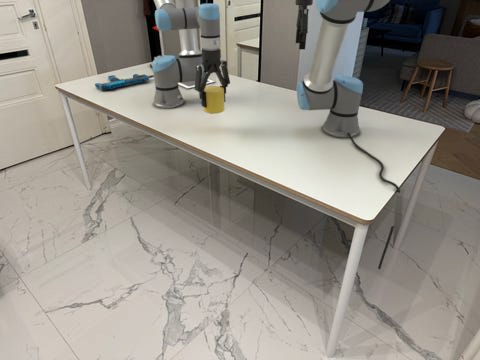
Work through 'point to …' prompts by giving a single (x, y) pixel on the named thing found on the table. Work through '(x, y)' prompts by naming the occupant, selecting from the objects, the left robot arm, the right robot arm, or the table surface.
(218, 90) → the tin
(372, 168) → the table surface
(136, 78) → the submachine gun
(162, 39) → the flag stand
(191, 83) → the tablet
